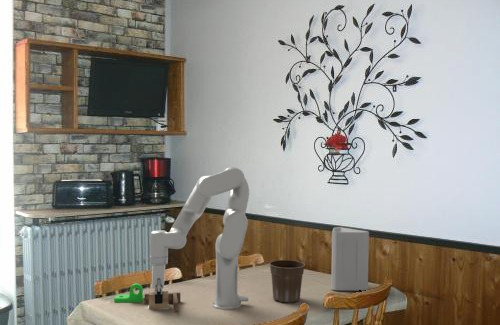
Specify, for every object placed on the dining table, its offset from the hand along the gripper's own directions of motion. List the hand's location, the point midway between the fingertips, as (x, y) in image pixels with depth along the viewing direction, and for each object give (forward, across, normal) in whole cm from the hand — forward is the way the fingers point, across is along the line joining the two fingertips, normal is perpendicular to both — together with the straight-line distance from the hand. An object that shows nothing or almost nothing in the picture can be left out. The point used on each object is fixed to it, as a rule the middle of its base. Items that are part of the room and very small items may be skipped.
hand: (158, 300), depth 231 cm
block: (+3, 0, 0) cm, 3 cm away
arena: (+3, 0, +2) cm, 4 cm away
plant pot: (+3, -5, +57) cm, 57 cm away
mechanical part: (+4, -12, -13) cm, 18 cm away
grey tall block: (+3, -22, +90) cm, 92 cm away
